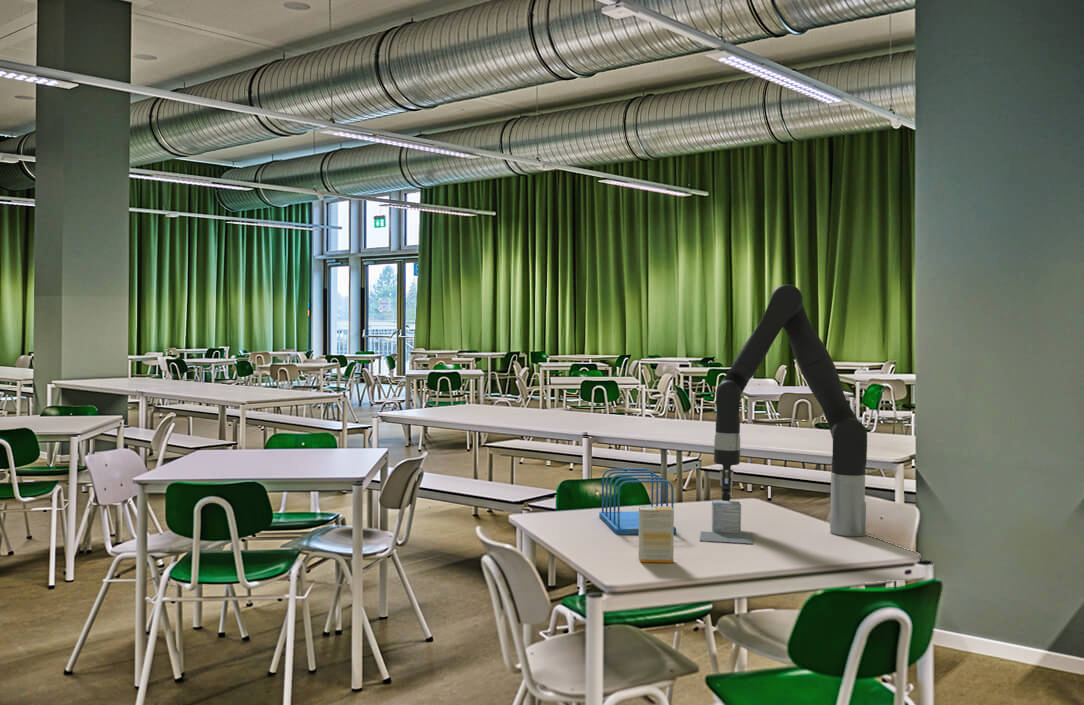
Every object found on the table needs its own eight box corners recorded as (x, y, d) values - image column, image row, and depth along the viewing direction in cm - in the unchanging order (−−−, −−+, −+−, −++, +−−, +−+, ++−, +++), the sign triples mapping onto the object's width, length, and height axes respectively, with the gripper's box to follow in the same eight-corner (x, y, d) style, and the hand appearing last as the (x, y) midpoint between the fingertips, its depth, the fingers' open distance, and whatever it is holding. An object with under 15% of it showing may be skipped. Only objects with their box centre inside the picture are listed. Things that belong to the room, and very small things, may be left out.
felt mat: (751, 535, 246) (751, 534, 246) (752, 544, 235) (752, 543, 235) (700, 532, 249) (700, 531, 249) (699, 541, 237) (699, 540, 237)
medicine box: (739, 531, 252) (739, 501, 252) (740, 534, 248) (741, 503, 248) (711, 530, 253) (711, 500, 253) (712, 533, 248) (713, 502, 248)
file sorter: (598, 518, 269) (599, 468, 269) (654, 517, 271) (654, 468, 271) (616, 535, 244) (616, 480, 244) (676, 534, 246) (677, 480, 246)
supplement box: (671, 558, 217) (672, 505, 217) (673, 563, 212) (674, 509, 212) (637, 558, 217) (638, 505, 217) (639, 562, 212) (640, 508, 212)
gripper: (740, 450, 252) (739, 511, 252) (739, 446, 265) (738, 503, 265) (714, 449, 253) (712, 509, 253) (714, 444, 266) (713, 501, 266)
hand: (725, 506), depth 259 cm, fingers closed
